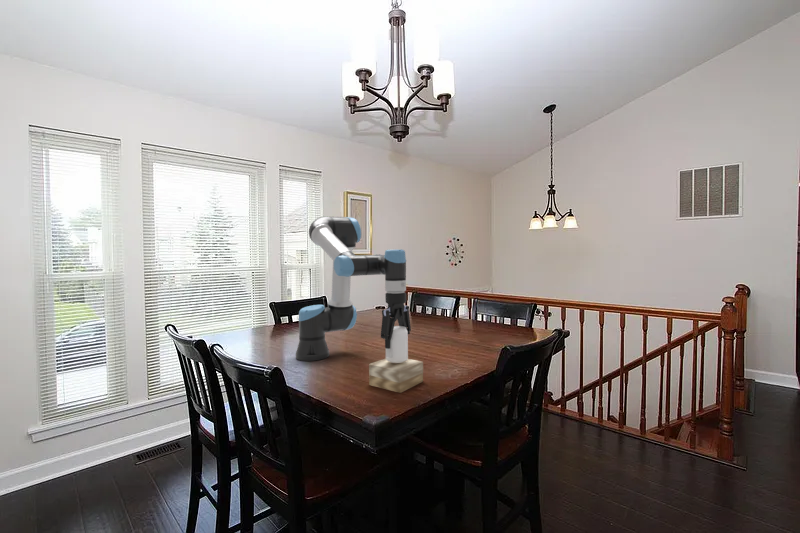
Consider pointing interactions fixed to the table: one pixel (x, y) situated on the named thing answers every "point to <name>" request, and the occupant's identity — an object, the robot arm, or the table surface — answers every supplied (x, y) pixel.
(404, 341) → the beverage can
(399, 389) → the bottom slab
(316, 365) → the table surface
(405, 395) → the table surface
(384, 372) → the top slab
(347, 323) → the robot arm
